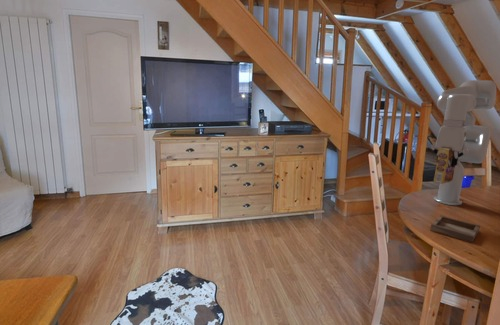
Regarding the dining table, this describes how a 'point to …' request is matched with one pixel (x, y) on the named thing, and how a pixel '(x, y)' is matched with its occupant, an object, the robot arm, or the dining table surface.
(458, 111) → the robot arm
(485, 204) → the dining table surface
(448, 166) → the candy box
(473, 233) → the tray
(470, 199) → the dining table surface
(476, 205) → the dining table surface
